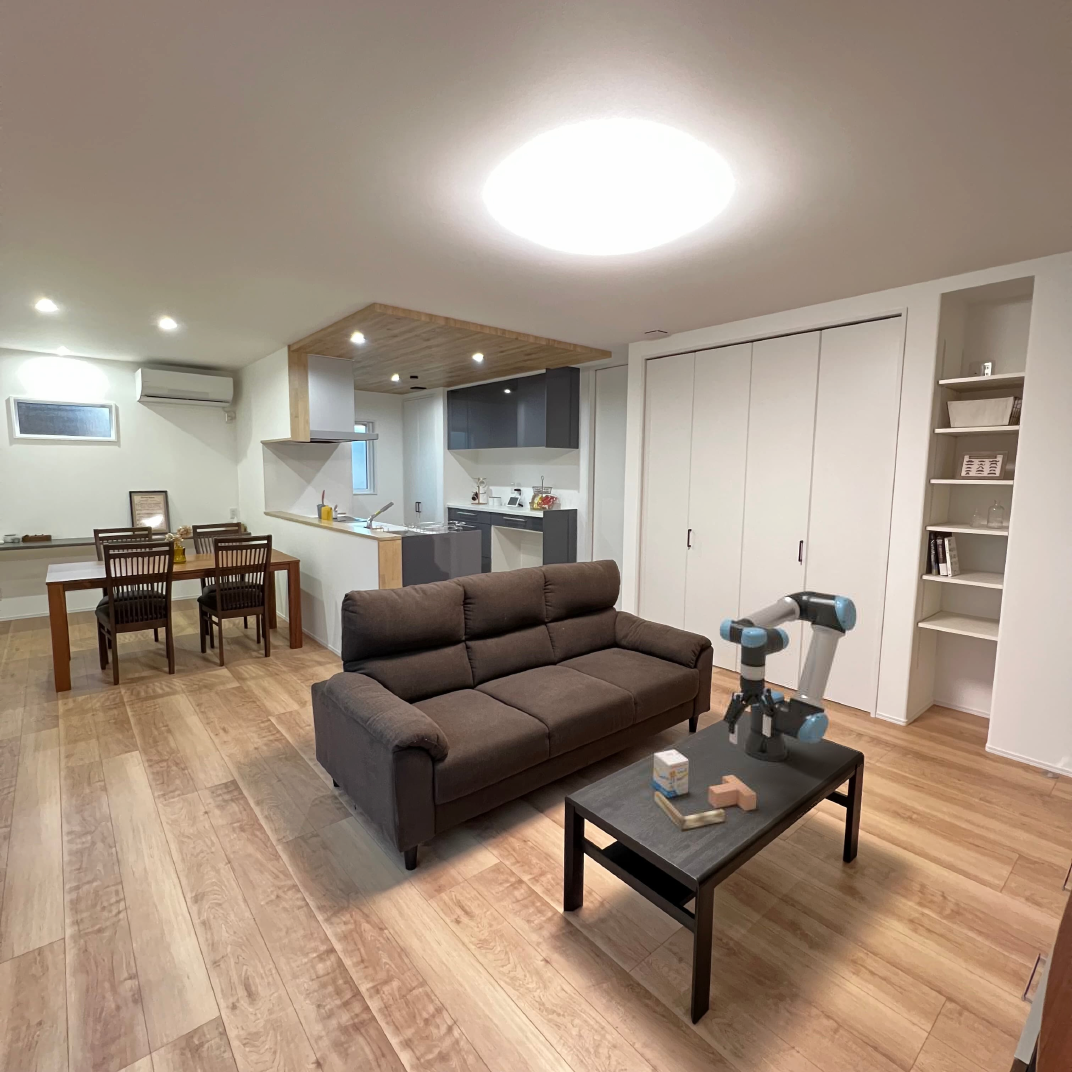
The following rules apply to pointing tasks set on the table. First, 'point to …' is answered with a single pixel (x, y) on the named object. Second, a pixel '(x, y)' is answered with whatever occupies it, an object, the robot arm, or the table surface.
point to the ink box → (670, 773)
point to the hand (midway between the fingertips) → (750, 738)
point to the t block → (732, 794)
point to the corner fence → (688, 820)
